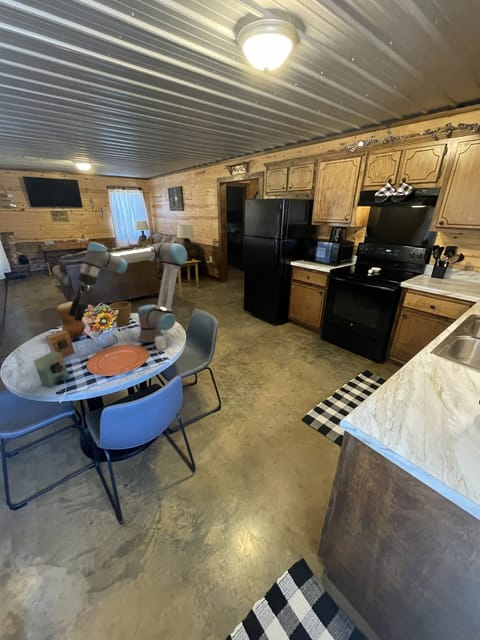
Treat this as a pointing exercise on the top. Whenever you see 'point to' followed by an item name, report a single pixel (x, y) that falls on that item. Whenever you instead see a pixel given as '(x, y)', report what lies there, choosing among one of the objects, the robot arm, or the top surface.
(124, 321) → the plant pot
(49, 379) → the front housing
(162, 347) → the shot glass
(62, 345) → the back button
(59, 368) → the front button
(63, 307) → the butternut squash
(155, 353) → the top surface
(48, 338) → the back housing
